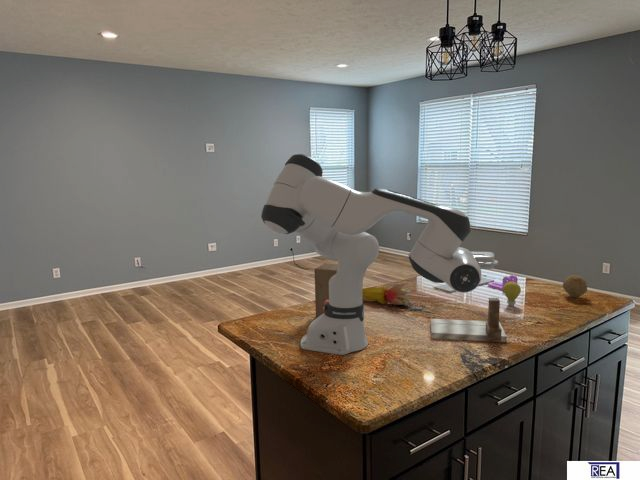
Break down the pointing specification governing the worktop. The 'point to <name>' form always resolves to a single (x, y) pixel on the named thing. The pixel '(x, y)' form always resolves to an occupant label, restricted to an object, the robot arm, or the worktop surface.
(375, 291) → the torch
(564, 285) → the natural sponge
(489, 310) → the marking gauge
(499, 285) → the bracket
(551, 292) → the worktop surface
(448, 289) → the baseboard molding
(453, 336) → the birch board
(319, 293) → the wooden block
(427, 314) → the worktop surface
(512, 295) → the light bulb
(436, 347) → the worktop surface
